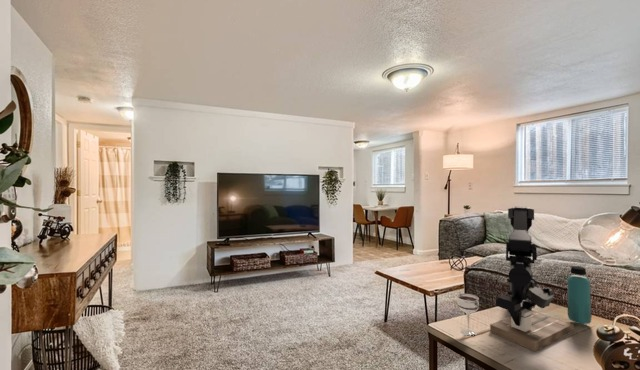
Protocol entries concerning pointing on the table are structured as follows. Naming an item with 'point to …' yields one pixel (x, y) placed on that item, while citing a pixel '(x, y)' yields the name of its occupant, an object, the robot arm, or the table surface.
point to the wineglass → (468, 309)
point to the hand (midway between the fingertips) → (521, 324)
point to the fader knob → (523, 321)
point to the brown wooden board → (533, 331)
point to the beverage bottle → (579, 296)
